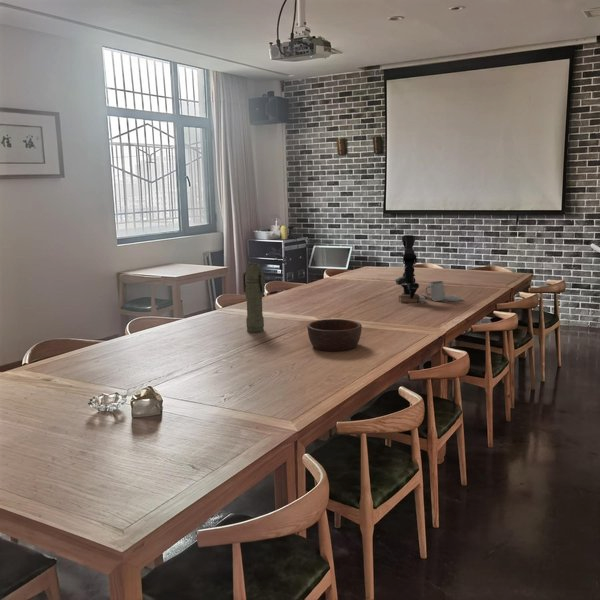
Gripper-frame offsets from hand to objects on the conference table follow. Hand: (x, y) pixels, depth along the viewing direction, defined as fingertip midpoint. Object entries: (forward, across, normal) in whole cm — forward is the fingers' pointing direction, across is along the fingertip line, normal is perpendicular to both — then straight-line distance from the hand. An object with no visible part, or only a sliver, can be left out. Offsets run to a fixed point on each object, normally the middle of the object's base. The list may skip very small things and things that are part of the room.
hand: (408, 297), depth 388 cm
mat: (+3, 0, +26) cm, 27 cm away
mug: (+3, 0, +18) cm, 18 cm away
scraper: (+3, 0, +1) cm, 3 cm away
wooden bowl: (+3, +92, -71) cm, 116 cm away
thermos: (+3, +52, -103) cm, 115 cm away
